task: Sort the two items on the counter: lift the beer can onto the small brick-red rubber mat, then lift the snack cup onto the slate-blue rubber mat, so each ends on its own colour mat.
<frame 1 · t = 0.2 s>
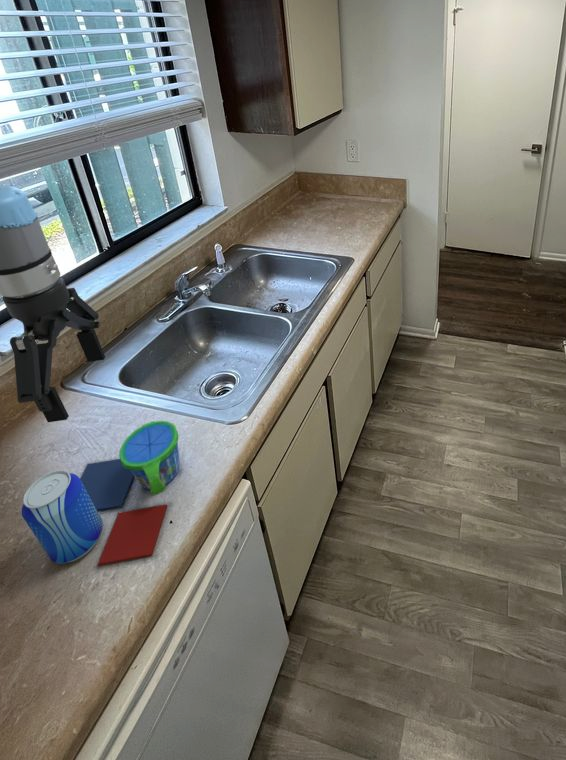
hand: (79, 387, 76), 31 cm above the worktop, tool pointing down, fingers open, 13 cm apart
red mat: (135, 534, 83), on the worktop
snack cup: (161, 474, 94), on the worktop
blue mat: (104, 485, 92), on the worktop
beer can: (79, 542, 82), on the worktop
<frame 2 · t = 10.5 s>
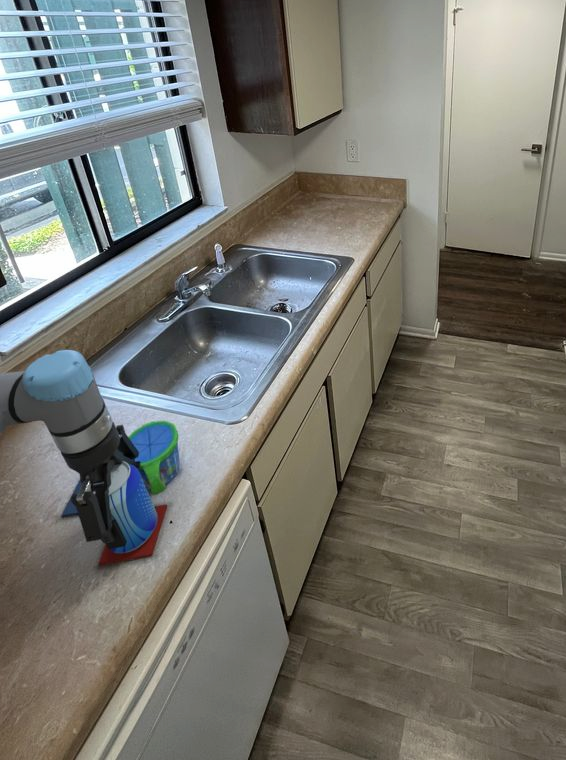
hand: (127, 518, 81), 5 cm above the worktop, tool pointing down, fingers closed on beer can, 8 cm apart
snack cup: (161, 474, 94), on the worktop, touching gripper
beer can: (134, 533, 83), resting on red mat, touching gripper
when the fingers open (5 cm above the worktop, at t = 11.7 s): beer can stays where it is, resting on red mat.
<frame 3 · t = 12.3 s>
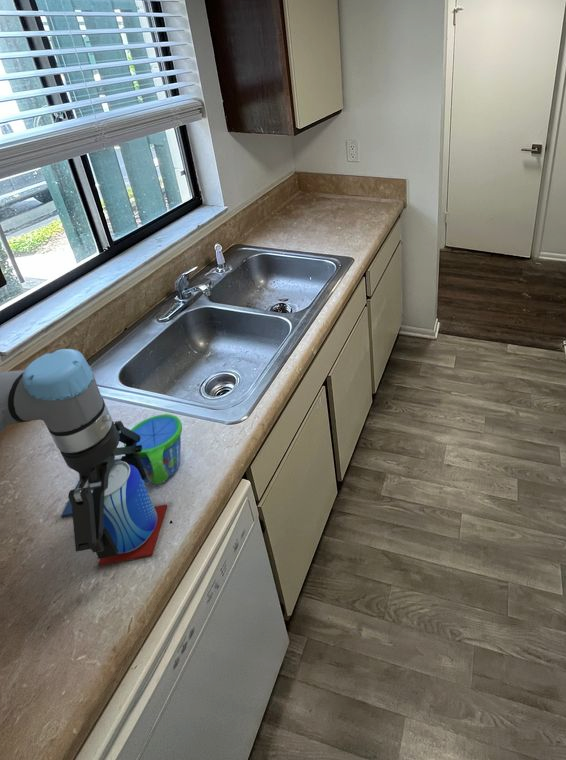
hand: (124, 513, 80), 6 cm above the worktop, tool pointing down, fingers open, 13 cm apart
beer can: (134, 533, 83), resting on red mat
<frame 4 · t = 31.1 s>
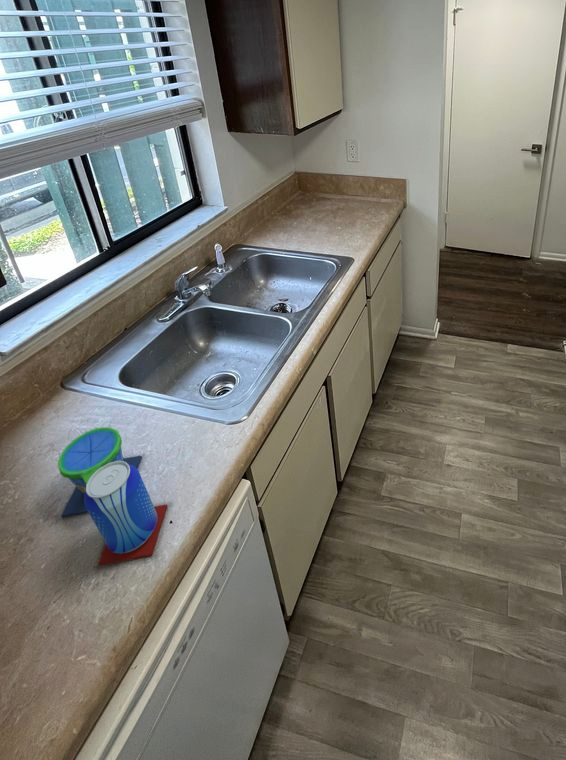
snack cup: (105, 482, 92), resting on blue mat
everything else where it was.
at the end: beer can inside the target area on the red mat (0.0 cm from its centre), point 0.4 cm above the red mat's base; snack cup inside the target area on the blue mat (0.4 cm from its centre), point 0.4 cm above the blue mat's base; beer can tilted 0° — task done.
